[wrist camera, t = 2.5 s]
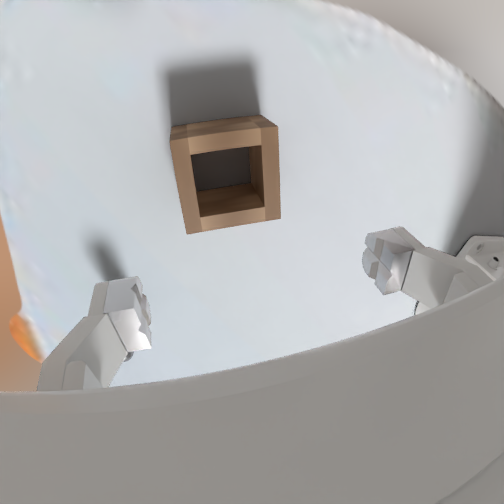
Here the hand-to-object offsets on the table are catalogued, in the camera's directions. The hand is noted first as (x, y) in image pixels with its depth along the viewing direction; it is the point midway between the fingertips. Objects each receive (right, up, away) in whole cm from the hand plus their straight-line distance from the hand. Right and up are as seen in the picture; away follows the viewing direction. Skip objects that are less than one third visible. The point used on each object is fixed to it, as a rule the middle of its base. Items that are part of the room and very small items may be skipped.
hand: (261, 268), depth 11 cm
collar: (-2, +7, +10) cm, 13 cm away
